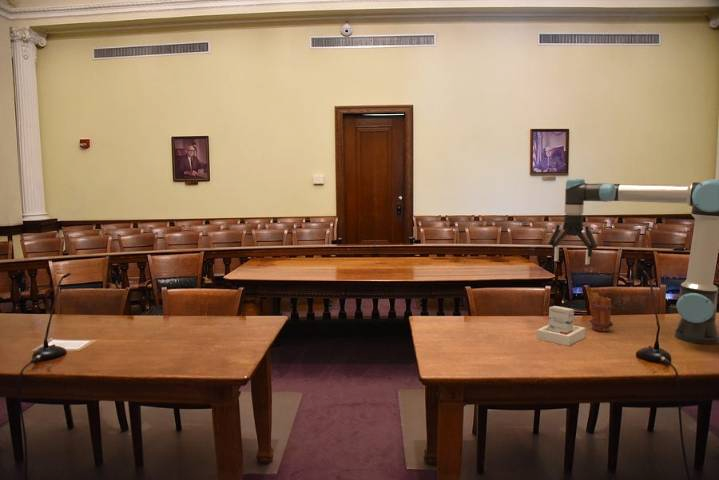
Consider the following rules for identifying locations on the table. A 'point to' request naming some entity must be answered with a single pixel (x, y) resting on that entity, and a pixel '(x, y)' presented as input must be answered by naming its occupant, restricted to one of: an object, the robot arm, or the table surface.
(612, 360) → the table surface
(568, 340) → the tray
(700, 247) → the robot arm
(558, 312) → the ink box
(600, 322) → the mug
